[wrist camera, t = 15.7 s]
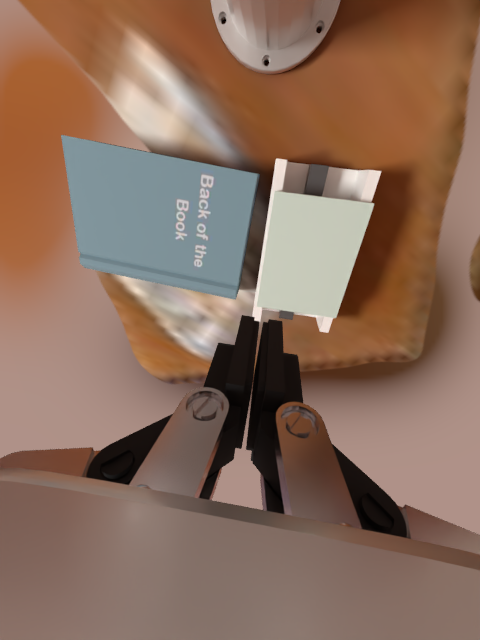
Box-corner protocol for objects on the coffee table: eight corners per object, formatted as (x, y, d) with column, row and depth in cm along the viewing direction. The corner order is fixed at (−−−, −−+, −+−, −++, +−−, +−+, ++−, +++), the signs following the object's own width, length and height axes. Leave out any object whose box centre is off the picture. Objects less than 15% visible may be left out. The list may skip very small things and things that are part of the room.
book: (260, 174, 33) (257, 173, 29) (239, 288, 41) (234, 302, 37) (89, 140, 33) (61, 135, 29) (101, 259, 42) (81, 269, 37)
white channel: (276, 160, 32) (275, 158, 27) (366, 171, 31) (381, 171, 27) (254, 305, 42) (251, 320, 37) (322, 316, 41) (328, 332, 37)
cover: (274, 190, 29) (275, 191, 28) (371, 202, 28) (374, 203, 27) (257, 303, 36) (256, 306, 35) (334, 314, 35) (336, 318, 34)
